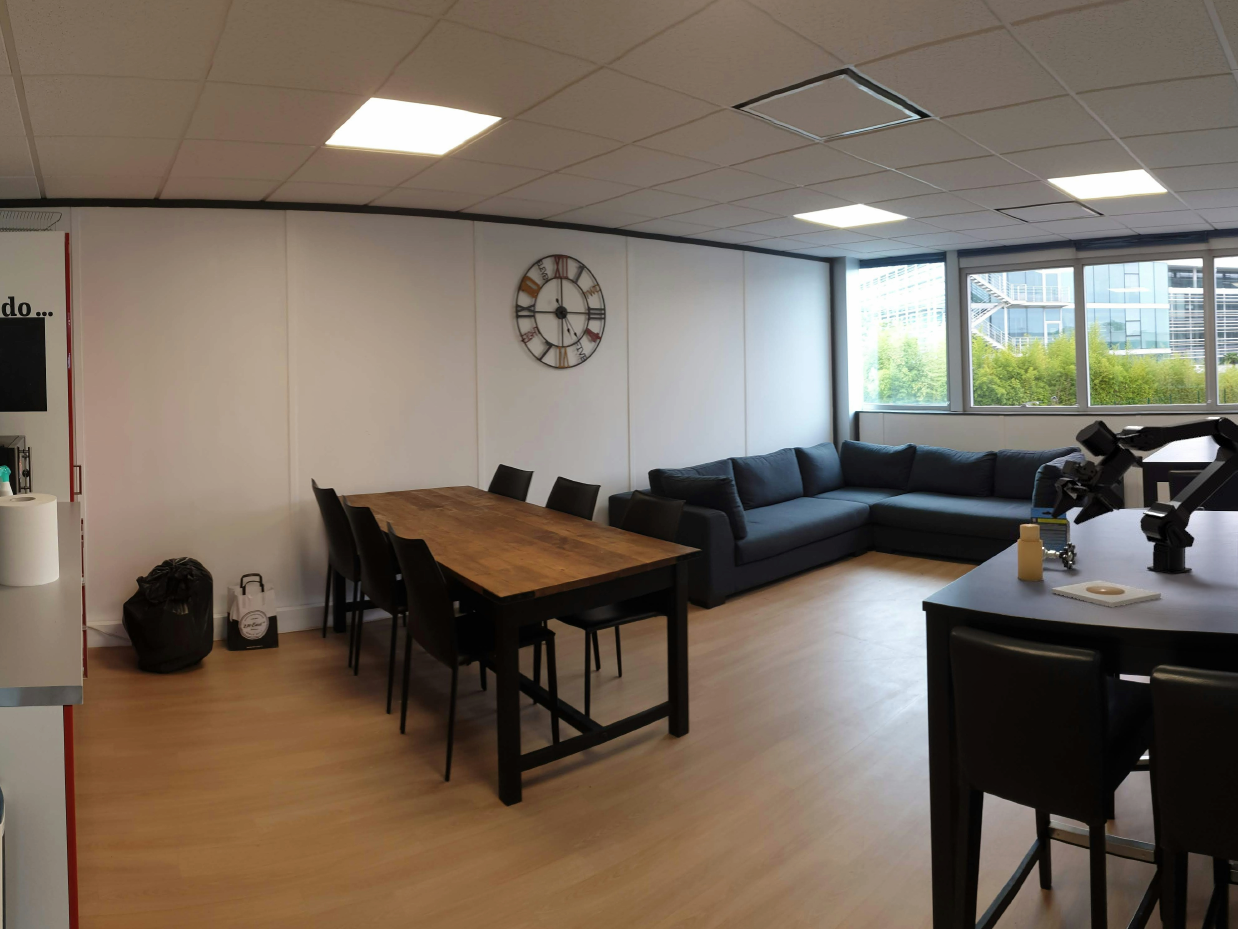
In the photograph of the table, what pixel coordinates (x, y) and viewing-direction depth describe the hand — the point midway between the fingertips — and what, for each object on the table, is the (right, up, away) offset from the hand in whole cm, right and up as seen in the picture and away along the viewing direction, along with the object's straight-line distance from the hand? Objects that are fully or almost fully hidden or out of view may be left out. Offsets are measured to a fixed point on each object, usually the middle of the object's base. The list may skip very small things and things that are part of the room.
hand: (1063, 520), depth 186 cm
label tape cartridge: (+12, -11, +27) cm, 31 cm away
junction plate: (-1, -15, -17) cm, 22 cm away
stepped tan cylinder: (-7, -14, +1) cm, 15 cm away
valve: (+2, -12, +12) cm, 18 cm away
